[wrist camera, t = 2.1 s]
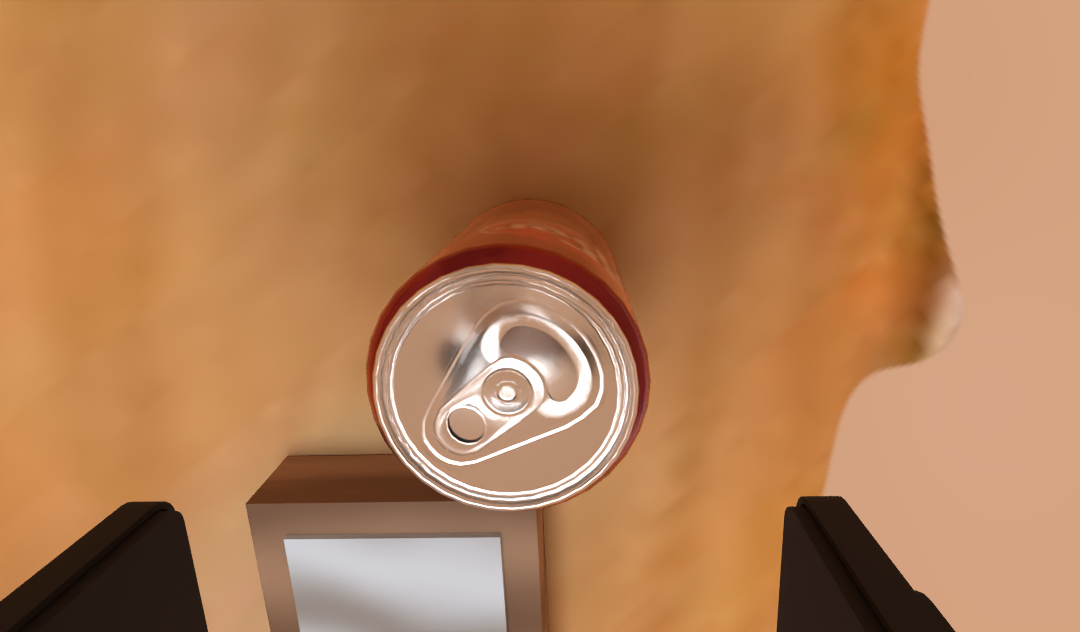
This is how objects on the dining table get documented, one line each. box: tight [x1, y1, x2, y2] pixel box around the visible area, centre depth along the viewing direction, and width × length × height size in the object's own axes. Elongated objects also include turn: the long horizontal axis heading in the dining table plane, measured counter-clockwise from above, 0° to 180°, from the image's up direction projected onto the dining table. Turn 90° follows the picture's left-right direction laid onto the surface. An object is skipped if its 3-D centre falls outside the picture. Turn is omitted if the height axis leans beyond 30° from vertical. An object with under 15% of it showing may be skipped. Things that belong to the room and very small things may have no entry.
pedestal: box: [246, 454, 549, 632], centre depth 29 cm, size 12×12×4 cm
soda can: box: [366, 200, 650, 512], centre depth 21 cm, size 7×7×12 cm
